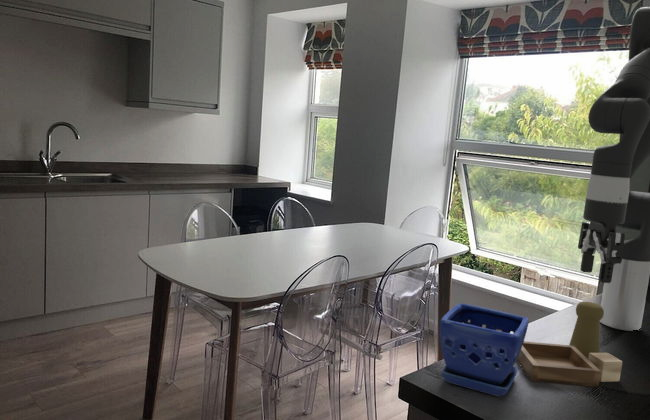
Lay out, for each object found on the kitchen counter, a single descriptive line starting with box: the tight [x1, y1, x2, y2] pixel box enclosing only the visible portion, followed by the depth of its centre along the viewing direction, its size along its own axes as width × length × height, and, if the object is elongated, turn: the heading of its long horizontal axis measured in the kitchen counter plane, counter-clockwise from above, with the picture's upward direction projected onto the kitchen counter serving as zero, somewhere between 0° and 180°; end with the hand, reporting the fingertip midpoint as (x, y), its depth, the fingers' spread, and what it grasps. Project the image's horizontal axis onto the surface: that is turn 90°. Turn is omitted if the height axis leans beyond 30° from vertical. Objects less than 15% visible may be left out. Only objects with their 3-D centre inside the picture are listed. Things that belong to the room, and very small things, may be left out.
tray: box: [516, 340, 601, 388], centre depth 104 cm, size 12×12×3 cm
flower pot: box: [439, 303, 530, 397], centre depth 96 cm, size 13×13×12 cm
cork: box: [568, 301, 604, 359], centre depth 113 cm, size 6×6×11 cm
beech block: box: [588, 352, 624, 383], centre depth 103 cm, size 4×4×4 cm
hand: (594, 276), depth 111 cm, fingers open, 8 cm apart
